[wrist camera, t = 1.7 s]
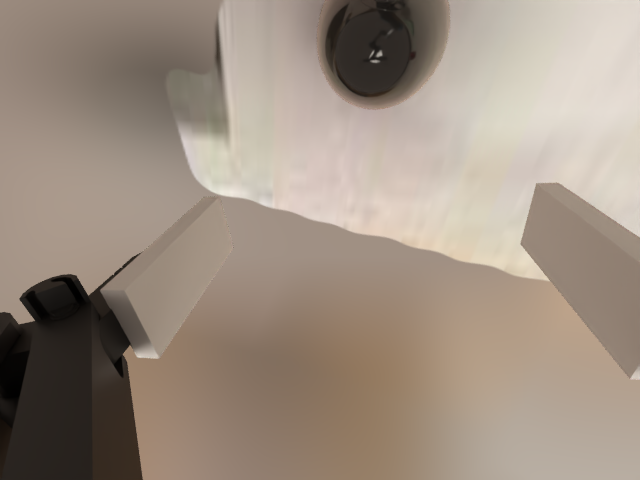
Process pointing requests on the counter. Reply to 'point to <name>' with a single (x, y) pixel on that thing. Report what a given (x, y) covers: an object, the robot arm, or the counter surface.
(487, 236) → the counter surface
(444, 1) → the pump dispenser
